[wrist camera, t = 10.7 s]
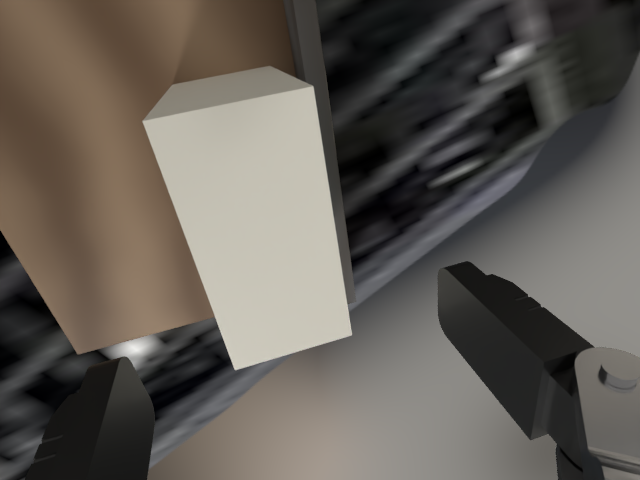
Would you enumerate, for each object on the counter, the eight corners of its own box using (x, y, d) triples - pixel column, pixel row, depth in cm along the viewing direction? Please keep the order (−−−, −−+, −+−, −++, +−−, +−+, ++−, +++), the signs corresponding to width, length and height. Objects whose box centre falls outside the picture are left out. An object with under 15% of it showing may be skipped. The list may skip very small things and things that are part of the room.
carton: (226, 253, 25) (234, 370, 16) (172, 84, 20) (142, 121, 11) (307, 232, 25) (357, 333, 17) (274, 64, 20) (321, 84, 12)
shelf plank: (84, 339, 26) (65, 384, 23) (-107, 19, 17) (-186, 14, 14) (340, 269, 29) (357, 301, 26) (293, -42, 20) (310, -59, 16)
